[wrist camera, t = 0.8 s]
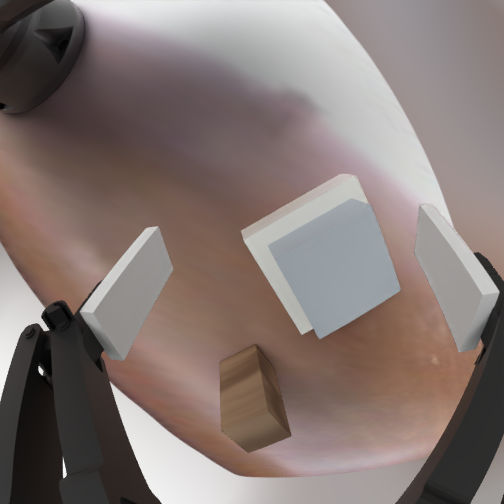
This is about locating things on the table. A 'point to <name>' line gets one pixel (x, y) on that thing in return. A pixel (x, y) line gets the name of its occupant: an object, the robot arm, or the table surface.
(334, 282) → the tower top
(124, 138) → the table surface
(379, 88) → the table surface
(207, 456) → the table surface
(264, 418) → the walnut block
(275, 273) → the tower base
